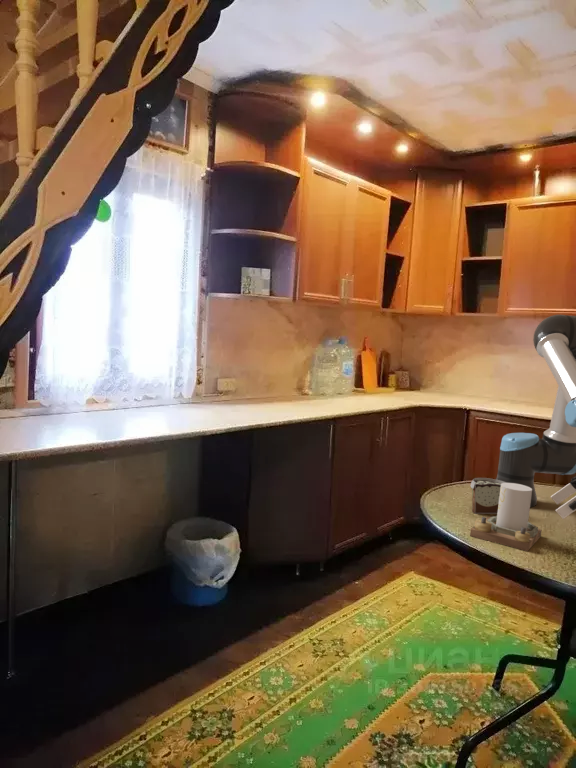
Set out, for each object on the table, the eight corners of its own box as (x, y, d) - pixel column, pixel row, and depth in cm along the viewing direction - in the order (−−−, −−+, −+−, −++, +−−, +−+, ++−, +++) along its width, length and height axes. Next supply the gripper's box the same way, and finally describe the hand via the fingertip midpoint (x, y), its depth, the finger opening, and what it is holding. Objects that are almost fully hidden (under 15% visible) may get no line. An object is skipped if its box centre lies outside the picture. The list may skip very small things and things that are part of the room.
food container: (493, 507, 190) (497, 477, 189) (505, 513, 184) (508, 482, 183) (460, 507, 187) (463, 477, 186) (470, 513, 181) (474, 482, 180)
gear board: (487, 522, 173) (489, 505, 172) (540, 536, 164) (543, 518, 164) (470, 535, 160) (472, 517, 159) (527, 551, 151) (529, 531, 151)
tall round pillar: (501, 521, 168) (506, 481, 167) (530, 529, 163) (535, 487, 162) (491, 527, 162) (496, 485, 161) (521, 536, 157) (527, 492, 156)
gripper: (646, 482, 140) (572, 532, 147) (624, 461, 164) (560, 505, 170) (624, 458, 141) (551, 509, 148) (605, 440, 165) (542, 485, 171)
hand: (556, 507), depth 159 cm, fingers open, 13 cm apart
